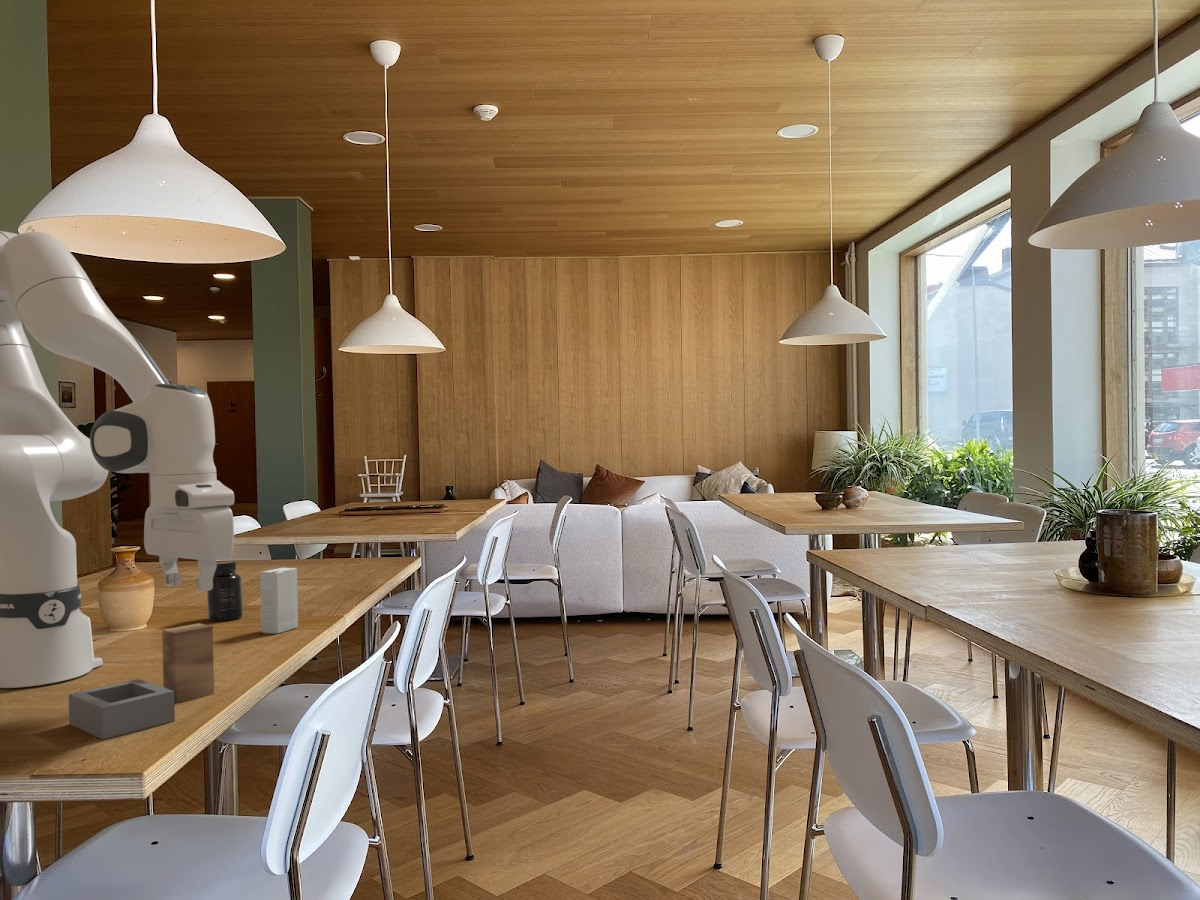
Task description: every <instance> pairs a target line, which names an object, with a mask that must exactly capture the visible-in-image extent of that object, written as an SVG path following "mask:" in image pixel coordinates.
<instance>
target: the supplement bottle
mask: <svg viewBox="0 0 1200 900" xmlns="http://www.w3.org/2000/svg"><path fill="white" fill-rule="evenodd" d="M236 564H237V562H236V561H235V560H234V561H233V560H229V561H228V560H225V561H217V567H216V570H215V573H214V576H213V588H212V590H209V591H206V593H207V594H206V596H207V597H206V598H207V599H206V600H207V619H208V620H209V621H211V622H226V621H229V622H230V621H233V620H234V621H235V620H239V619H241V618H242V617H243V608H244V607H243V589H242V588H243V586H242V585H243V583H242V577H241V575H240V574H238V573H236V571H237V565H236Z"/></svg>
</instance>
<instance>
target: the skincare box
mask: <svg viewBox="0 0 1200 900" xmlns="http://www.w3.org/2000/svg"><path fill="white" fill-rule="evenodd" d="M259 573H260V578H259V579H260V580H259V581H260V624H261V625H260V627H261V633H263V634H273V635H274V634H275V635H277V634H281V633H284V632H287V631H290V630H293V629H297V628H298V627H299V611H298V610H299V604H298V603H299V602H298V597H299V596H298V595H299V594H298V568H297V567H279V568H274V569H269V570H265V571H260V572H259Z"/></svg>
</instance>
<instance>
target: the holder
mask: <svg viewBox="0 0 1200 900" xmlns="http://www.w3.org/2000/svg"><path fill="white" fill-rule="evenodd" d="M175 709H176V708H175V702H174V691H172V690H169V689H166V688H164V686H160V685H158V684H155V683H152V682H148V681H145V680H143V679H140V678H136V679H132V680H128V681H123V682H120V683H119V682H118V683H114V684H110V685H105V686H100V687H95V688H91V689H86V690H83V691H78V692H77V691H76V692H72V693H68V721H69V722H68V724H69V725H70V726H73V727H75V728H77V729H79V730H82V731H83V732H86V733H88V734H89V735H92V736H94V737H97V738H98V739H100V740H103V741H104V740H107V739H111V738H115V737H119V736H123V735H127V734H131V733H135V732H138V731H141V730H145V729H146V730H147V729H151V728H153V727H156V726H157V727H158V726H161V725H164V724H168V723H172V722H175V719H176V718H175V713H176V712H175Z"/></svg>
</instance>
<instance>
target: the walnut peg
mask: <svg viewBox="0 0 1200 900" xmlns="http://www.w3.org/2000/svg"><path fill="white" fill-rule="evenodd" d="M213 628H214V627H213V626H212V625H209V624H208V625H207V624H203V623H194V624H189V625H188V624H187V625H182V626H177V627H171V628H164V629H162V630H161V636H162V638H161V639H162V673H163V674H162V675H163V676H162V678H163V688H166V689H169V690H172V691H174V703H177V704H178V703H183V702H186V701H190V700H194V699H199V698H203V697H207V696H211V695H215V680H214V679H215V674H214V673H215V671H214V639H213V637H214V635H213V634H214V632H213V631H214V630H213ZM210 694H211V695H210ZM206 695H207V696H206ZM202 696H203V697H202Z"/></svg>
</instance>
